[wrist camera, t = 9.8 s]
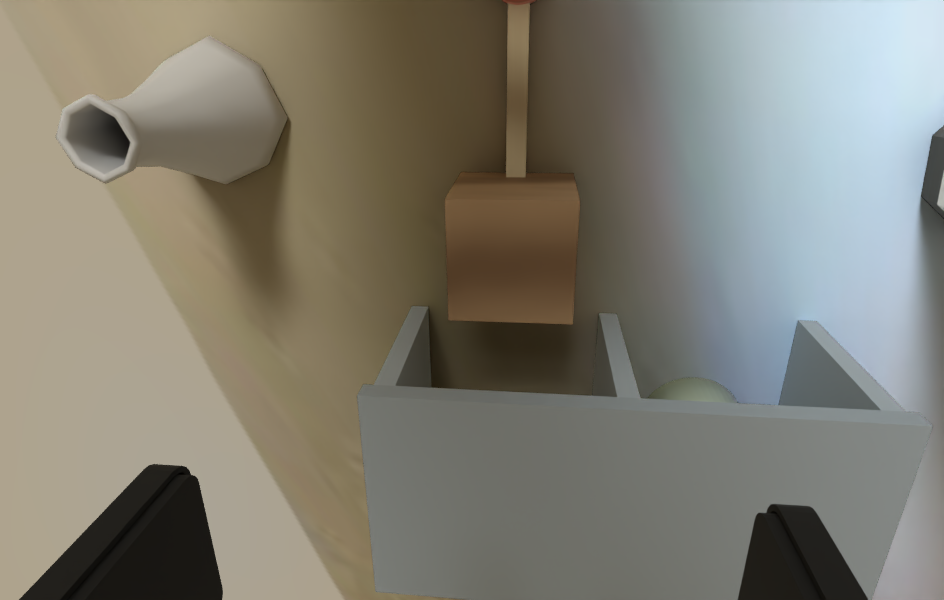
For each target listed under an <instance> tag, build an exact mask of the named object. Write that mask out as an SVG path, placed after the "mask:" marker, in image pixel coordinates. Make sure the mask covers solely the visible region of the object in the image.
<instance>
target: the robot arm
mask: <svg viewBox="0 0 944 600" xmlns="http://www.w3.org/2000/svg"><path fill="white" fill-rule="evenodd" d="M222 595H223V590H222V584H221V579H220V575H219V571H218V566H217V562H216V557H215V553H214V548H213V544H212V539H211V535H210V530H209V526H208V522H207V517H206V512H205V508H204V503H203V499H202V495H201V490H200V486H199V482H198V479H197V478H196V477H195V476H193V475H191V474H190V471H189V470H188V469H187V467H184V466H173V465H158V464H153V465H149V466H148V467H146V468H145V469H144V470H143V471H142V472H141V473H140V474H139V475H138V476H137V477H136V478H135V480H133V482H131V483H130V485H129V486H128V487H127V488H126V489H125V490H124V491H123V492H122V493H121V494H120V495H119V496H118V497H117V498H116V499H115V500H114V501H113V502H112V503H111V504H110V505H109V506H108V507H107V509H106V510H105V511H104V512H103V513H102V514H101V515H100V516H99V517H98V518H97V519H96V520H95V521H94V522H93V523H92V524H91V525H90V526H89V527H88V528H87V530H85V532H84V533H83V534H82V535H81V536H80V537H79V538H78V539H77V540H76V541H75V542H74V543H73V544H72V545H71V546H70V547H69V548H68V549H67V550H66V551H65V552H64V553H63V555H61V557H60V558H59V559H58V560H57V561H56V562H55V563H54V564H53V565H52V566H51V567H50V568H49V569H48V570H47V571H46V572H45V573H44V574H43V575H42V576H41V577H40V579H39V580H38V581H37V582H36V583H35V584H34V585H33V586H32V587H31V588H30V589H29V590H28V591H27V592H26V593H25V594H24V595H23V596H22V597H21V598H20V599H19V600H222ZM738 600H868V598H867V596H866V595H865V593H864V591H863V590H862V588H861V586H860V585H859V583H858V581H857V580H856V578H855V576H854V575H853V573H852V571H851V570H850V568H849V566H848V564H847V563H846V561H845V559H844V558H843V556H842V554H841V553H840V551H839V549H838V548H837V546H836V544H835V543H834V541H833V539H832V538H831V536H830V534H829V533H828V531H827V529H826V528H825V526H824V524H823V523H822V521H821V519H820V518H819V516H818V514H817V513H816V511H815V510H814V509H813V508H812V507H810V506H800V505H784V504H770V506H769V507H768V509H767V512H766V513H758V514H757V515H756V517H755V521H754V525H753V530H752V535H751V539H750V544H749V549H748V553H747V558H746V563H745V568H744V572H743V577H742V582H741V586H740V591H739V596H738Z"/></svg>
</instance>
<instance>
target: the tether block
mask: <svg viewBox="0 0 944 600" xmlns="http://www.w3.org/2000/svg"><path fill="white" fill-rule="evenodd" d="M502 1H503V2H505V3H507V4H508V34H507V131H506V173H501V172H461V173H460V174H459V176H458V178H457V179H456V181H455V183H454V184H453V186H452V188H451V189H450V191H449V193H448V194H447V196H446V198H445V226H446V258H447V291H448V320H457V321H487V322H516V323H546V324H573V312H574V295H575V279H576V262H577V245H578V229H579V212H580V198H579V194H578V190H577V186H576V182H575V178H574V174H573V173H526V146H527V103H528V60H529V17H530V4H531V3H533V2H535V1H536V0H502Z"/></svg>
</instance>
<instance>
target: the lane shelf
mask: <svg viewBox="0 0 944 600" xmlns="http://www.w3.org/2000/svg"><path fill="white" fill-rule="evenodd" d="M357 401H358V411H359V422H360V432H361V443H362V453H363V464H364V475H365V485H366V496H367V506H368V517H369V527H370V538H371V549H372V559H373V570H374V580H375V591H376V592H383V593H395V594H406V595H418V596H430V597H442V598H454V599H466V600H738V596H739V591H740V586H741V582H742V577H743V572H744V568H745V563H746V558H747V553H748V549H749V544H750V539H751V535H752V530H753V525H754V521H755V517H756V515H757V514H758V513H766V512H767V509H768V507H769V506H770V504H784V505H800V506H810V507H812V508H813V509H814V510H815V511H816V513H817V514H818V516H819V518H820V519H821V521H822V523H823V524H824V526H825V528H826V529H827V531H828V533H829V534H830V536H831V538H832V539H833V541H834V543H835V544H836V546H837V548H838V549H839V551H840V553H841V554H842V556H843V558H844V559H845V561H846V563H847V564H848V566H849V568H850V570H851V571H852V573H853V575H854V576H855V578H856V580H857V581H858V583H859V585H860V586H861V588H862V590H863V591H864V593H865V595H866V596H867V598H868V600H872V597H873V594H874V591H875V588H876V586H877V583H878V580H879V577H880V574H881V572H882V569H883V566H884V563H885V560H886V557H887V555H888V552H889V549H890V546H891V543H892V541H893V538H894V535H895V532H896V529H897V527H898V524H899V521H900V518H901V515H902V513H903V510H904V507H905V504H906V501H907V498H908V496H909V493H910V490H911V487H912V484H913V482H914V479H915V476H916V473H917V470H918V468H919V465H920V462H921V459H922V456H923V454H924V451H925V448H926V445H927V442H928V439H929V437H930V434H931V431H932V428H933V425H932V424H931V423H930V422H928V421H927V420H926V419H925V418H924V417H923V416H922V415H921V414H920V413H919V412H906V411H905V410H904V409H903V408H902V407H901V406H900V405H899V404H898V403H897V402H896V401H895V400H894V399H893V398H892V397H891V396H890V395H889V394H888V392H887V391H886V390H885V389H884V388H883V387H882V386H881V385H880V384H879V383H878V382H877V381H876V380H875V379H874V378H873V377H872V376H871V375H870V374H869V373H868V372H867V371H866V370H865V369H864V368H863V367H862V366H861V365H860V364H859V363H858V362H857V361H856V360H855V359H854V358H853V357H852V356H851V355H850V354H849V353H848V352H847V351H846V350H845V349H844V348H843V347H842V346H841V345H840V344H839V343H838V342H837V341H836V340H835V339H834V338H833V337H832V336H831V335H830V334H829V333H828V332H827V331H826V330H825V329H824V328H823V327H822V326H821V325H820V324H819V323H818V322H817V321H802V320H798V323H797V327H796V332H795V336H794V340H793V345H792V349H791V353H790V358H789V362H788V366H787V371H786V375H785V379H784V384H783V388H782V392H781V397H780V401H779V405H765V404H745V403H725V402H705V401H685V400H665V399H645V398H640V395H639V391H638V388H637V384H636V381H635V377H634V373H633V370H632V366H631V363H630V359H629V356H628V352H627V349H626V345H625V342H624V338H623V334H622V331H621V327H620V324H619V320H618V317H617V314H614V313H599V319H598V331H597V343H596V354H595V366H594V378H593V389H592V396H586V395H566V394H546V393H526V392H507V391H487V390H467V389H447V388H431V364H430V337H429V310H428V307H425V306H412V307H411V309H410V311H409V313H408V315H407V317H406V319H405V321H404V323H403V325H402V327H401V329H400V331H399V334H398V336H397V338H396V340H395V342H394V344H393V346H392V348H391V350H390V352H389V354H388V356H387V358H386V360H385V362H384V365H383V367H382V369H381V371H380V373H379V375H378V377H377V379H376V381H375V383H374V385H368V384H363V385H362V387H361V389H360V391H359V393H358V395H357Z"/></svg>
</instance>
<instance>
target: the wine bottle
mask: <svg viewBox="0 0 944 600" xmlns="http://www.w3.org/2000/svg"><path fill="white" fill-rule="evenodd" d="M921 196H922V197H923V198H924V199H925V200H926V201H927V202H928V203H929V204H930V205H931V206H932V207H933V208H934V209H935V210H936V211H937V212H938V213H939V214H940V215H941V216H942V217H943V218H944V126H943V127H942V128H941V129H939V130H938V131H937V132H936V133H935V134H934V135H933V136H932V142H931V147H930V152H929V157H928V163H927V168H926V173H925V179H924V184H923V189H922V194H921Z"/></svg>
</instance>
